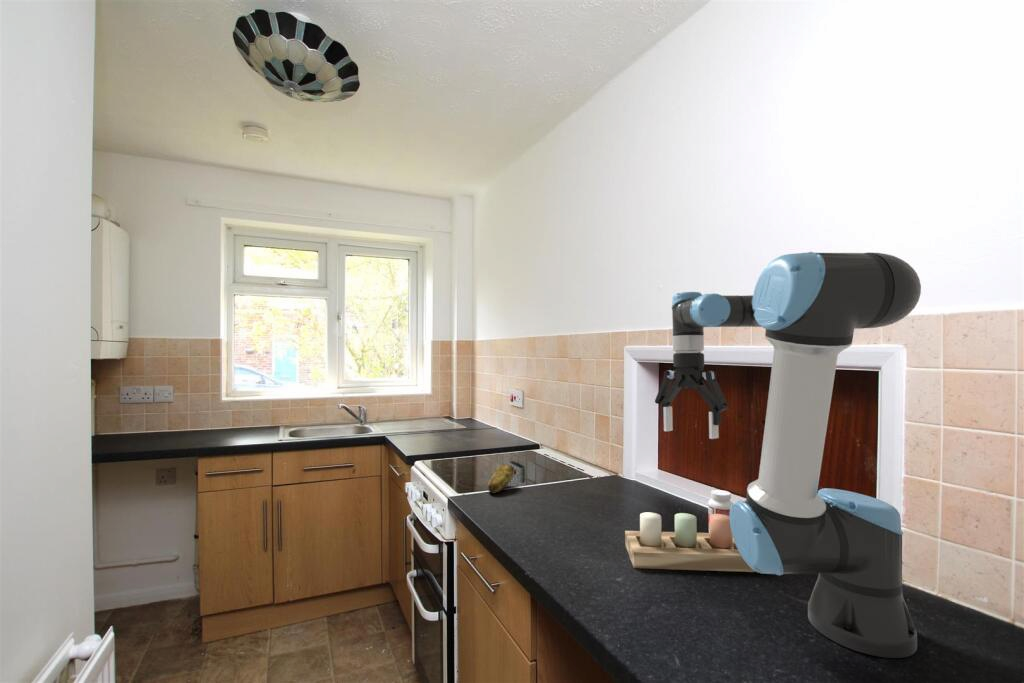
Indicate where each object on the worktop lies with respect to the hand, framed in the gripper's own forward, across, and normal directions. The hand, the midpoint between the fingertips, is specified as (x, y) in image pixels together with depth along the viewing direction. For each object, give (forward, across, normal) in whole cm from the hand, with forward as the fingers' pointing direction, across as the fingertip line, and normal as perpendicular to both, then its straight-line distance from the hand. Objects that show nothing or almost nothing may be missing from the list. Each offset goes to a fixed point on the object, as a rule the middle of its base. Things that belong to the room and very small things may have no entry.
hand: (690, 434), depth 119 cm
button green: (+23, -6, +10) cm, 26 cm away
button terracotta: (+23, -11, +4) cm, 26 cm away
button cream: (+23, -1, +17) cm, 29 cm away
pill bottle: (+27, -3, -8) cm, 28 cm away
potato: (+26, +62, +20) cm, 70 cm away
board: (+27, -6, +10) cm, 29 cm away
